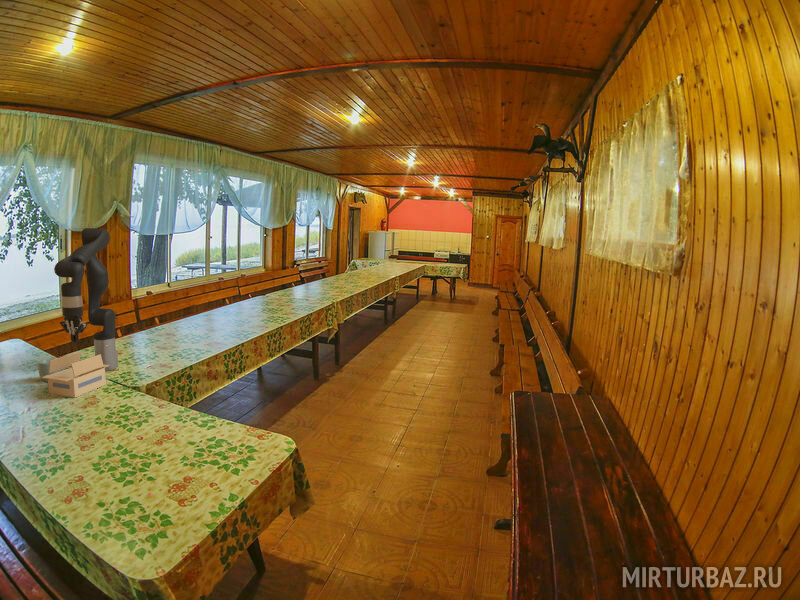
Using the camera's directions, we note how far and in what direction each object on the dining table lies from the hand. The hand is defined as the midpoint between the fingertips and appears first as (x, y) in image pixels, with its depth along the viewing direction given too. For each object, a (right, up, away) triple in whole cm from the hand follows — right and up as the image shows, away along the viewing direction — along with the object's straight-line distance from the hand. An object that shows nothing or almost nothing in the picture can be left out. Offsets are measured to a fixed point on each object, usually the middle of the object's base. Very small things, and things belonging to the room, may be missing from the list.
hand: (74, 341), depth 192 cm
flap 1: (-7, -10, +3) cm, 12 cm away
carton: (-1, -23, +4) cm, 24 cm away
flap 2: (+5, -11, +1) cm, 12 cm away
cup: (-22, -21, +13) cm, 33 cm away
